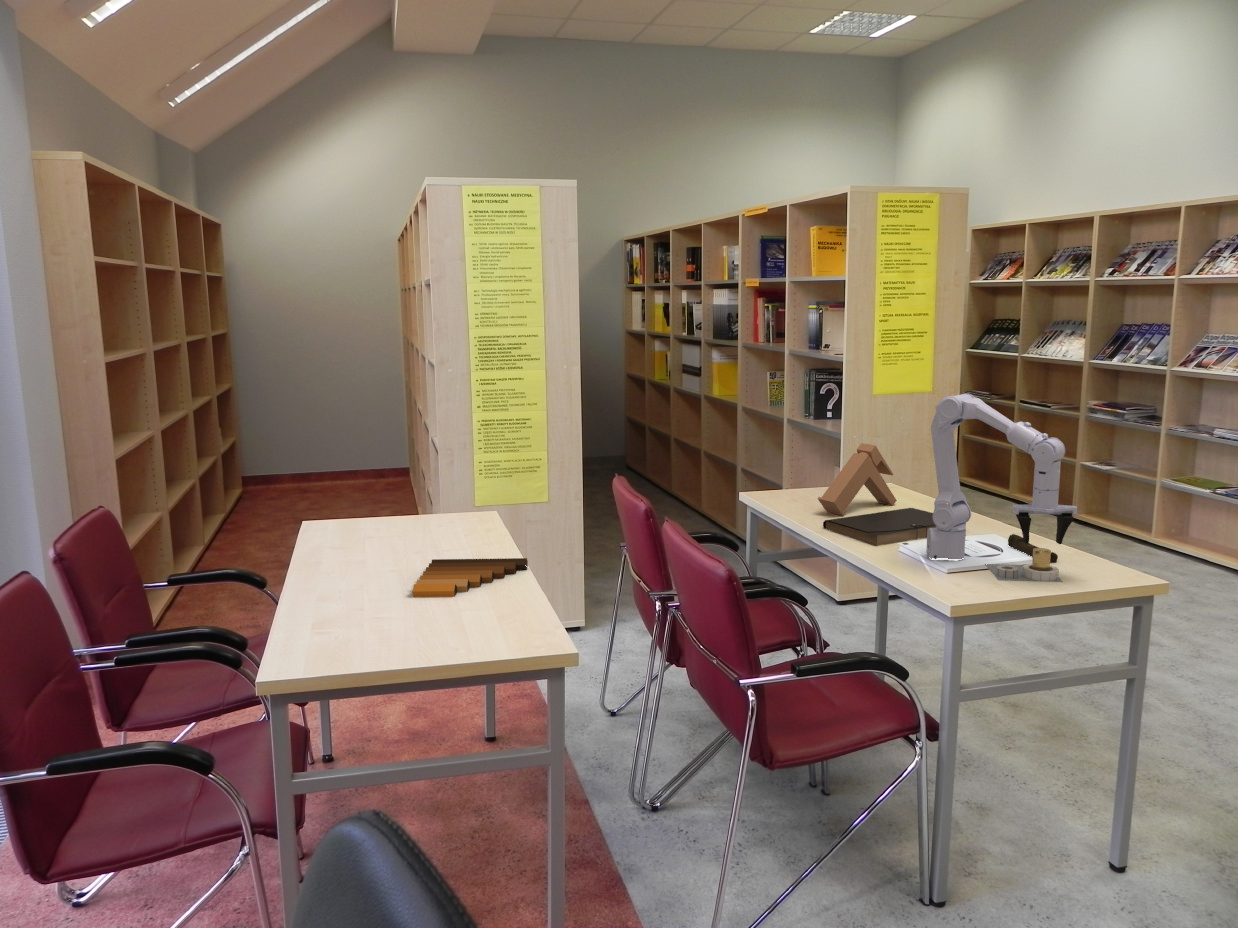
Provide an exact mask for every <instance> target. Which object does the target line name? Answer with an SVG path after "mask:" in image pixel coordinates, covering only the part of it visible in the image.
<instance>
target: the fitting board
mask: <svg viewBox="0 0 1238 928" xmlns="http://www.w3.org/2000/svg"><path fill="white" fill-rule="evenodd" d="M986 564H987V565H986ZM984 566H985V567H986V568H987V569H988V570H989V572H991V574H992V575H993V576H994V577H995V578H996V580H997V581H1002V582H1003V581H1006V582H1007V581H1008V582H1009V581H1010V582H1044V583H1045V582H1048V583H1049V582H1050V583H1051V582H1052V583H1053V582H1054V583H1063V582H1064V581H1063V580H1062V579H1061V578H1060V577H1059V575H1060V574H1059V573H1060V569H1059V568H1058V567H1057V566H1054V565H1051V564H1050V571H1037V570H1033V569H1032V563H1026V564H1005V563H1001V564H1000V563H999V564H997V563H995V564H994V563H993V564H992V563H991V564H990V563H984Z"/></svg>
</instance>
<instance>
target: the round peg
mask: <svg viewBox="0 0 1238 928" xmlns="http://www.w3.org/2000/svg"><path fill="white" fill-rule="evenodd" d="M1051 552H1052V550H1050V549H1049V548H1043V547H1039V548H1034V549H1033V557H1032V560H1031V564H1032V569H1033V570H1037V571H1050V565H1051V563H1050V557H1051Z"/></svg>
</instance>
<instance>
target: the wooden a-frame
mask: <svg viewBox="0 0 1238 928" xmlns="http://www.w3.org/2000/svg"><path fill="white" fill-rule="evenodd" d="M881 474H883V475H888V476H893V475H894V473H893V471H892V470H891V468H890V466H889V464H888V463H887V462H886V460H885V458H884V457H883V455H882V454H881V451H880V450H879V449H878V447H877V445H876V444H871V443H864V442H861V443H860V444H859V446H858V447H857V448H856V453H855V452H853V453H852V455H851V457H850V458H849V459H848V460H847V462H846V463H845V465H844V466H843V467H842V468H841V470H840V471H839V473H838V474H837V476H836V477H835V478H834V480H833V481H832V482H831V484H829V487H827V489H826V490H825V491H824V493H823V495H822V496H818V497H817V498H816V499H817V500H818V502H819V503H820V504H821V506H822V507H823V509H824V510H825V512H826V513H827V514H831V515H835V516H840V517H842V518H844V517H846V516H845V515H846V514H845V511H846V510H847V508H848V507H849V505H850V504H851V503H852V501H853V500H854V498H855V497H856V496H857V495H858V494H859V492H860V490H861V489H862V488H863V486H865V488H866V489H867V490H868V491H869V493H870V494H871V495H872V497H873V498H875V500H876V502H878V503H879V504H883V505H888V506H891V507H893V506H895V504H896V502H897V499H896V497H895V495H894V493H893V492H892V491H891V489H890V488H889V486H888V485H887V483H886V481H885V479H884V478H883V476H882V475H881Z"/></svg>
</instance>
